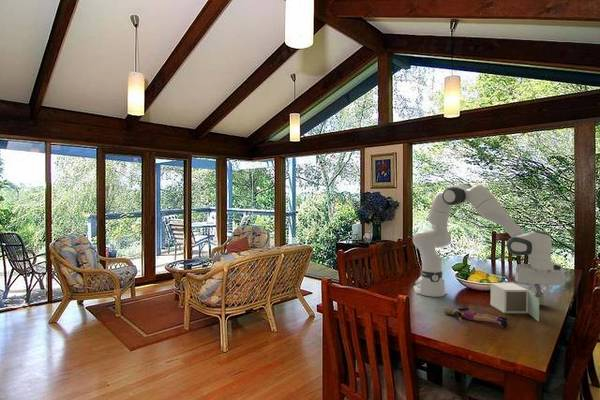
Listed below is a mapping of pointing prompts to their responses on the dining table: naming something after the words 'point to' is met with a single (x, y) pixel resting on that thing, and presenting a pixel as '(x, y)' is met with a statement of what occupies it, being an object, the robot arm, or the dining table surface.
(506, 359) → the dining table surface
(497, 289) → the carton
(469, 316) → the character figurine
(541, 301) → the toy car
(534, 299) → the end flap
